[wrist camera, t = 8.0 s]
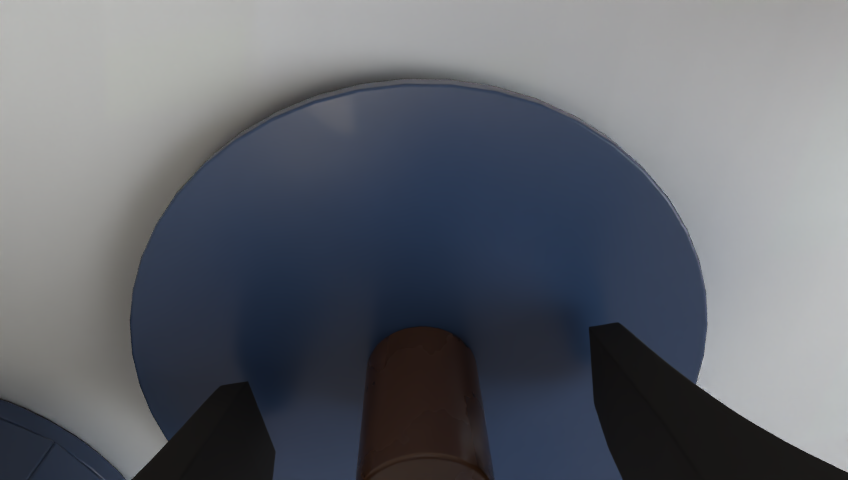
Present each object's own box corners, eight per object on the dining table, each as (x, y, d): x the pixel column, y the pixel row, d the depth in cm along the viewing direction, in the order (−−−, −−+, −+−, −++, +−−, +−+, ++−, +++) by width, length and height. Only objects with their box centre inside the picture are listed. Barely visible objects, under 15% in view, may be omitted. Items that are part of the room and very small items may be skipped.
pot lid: (692, 15, 11) (867, 60, 7) (683, 487, 17) (777, 674, 12) (52, 134, 12) (-145, 242, 8) (246, 549, 17) (193, 746, 13)
